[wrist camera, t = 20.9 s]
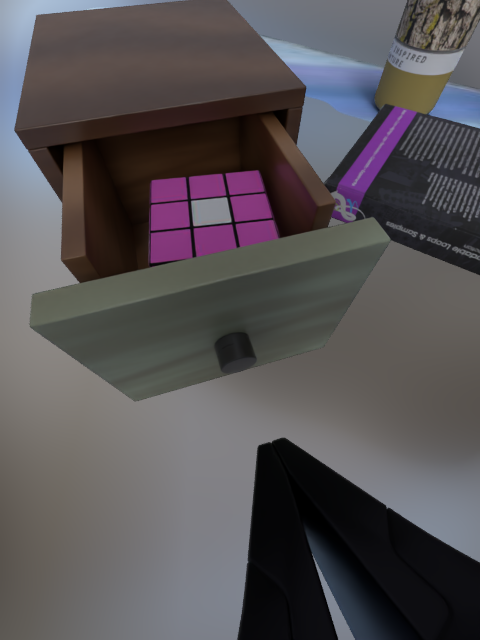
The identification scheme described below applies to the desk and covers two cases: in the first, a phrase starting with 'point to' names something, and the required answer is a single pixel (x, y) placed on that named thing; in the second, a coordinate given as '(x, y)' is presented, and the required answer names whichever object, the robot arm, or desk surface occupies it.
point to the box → (415, 184)
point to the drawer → (197, 261)
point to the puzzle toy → (207, 215)
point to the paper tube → (426, 52)
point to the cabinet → (146, 75)
